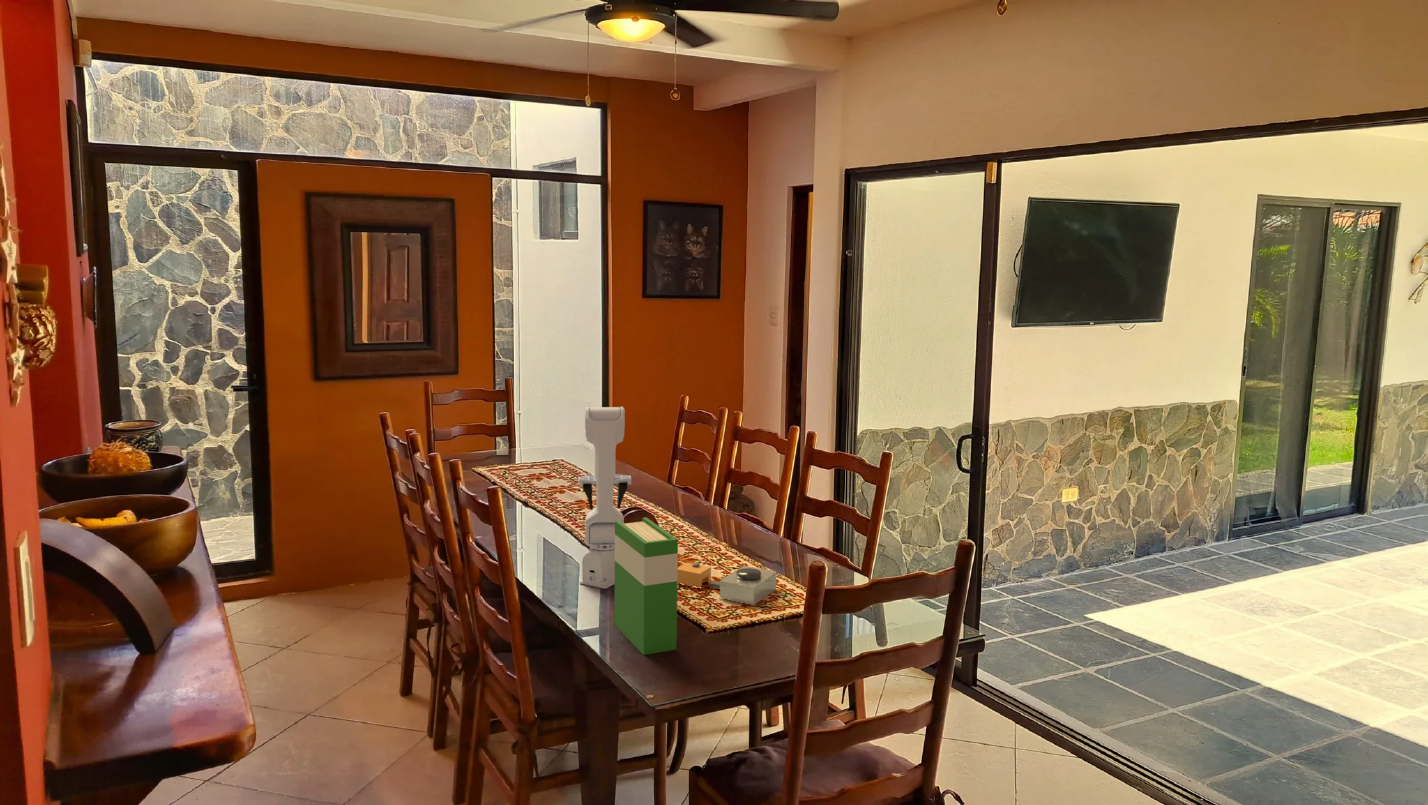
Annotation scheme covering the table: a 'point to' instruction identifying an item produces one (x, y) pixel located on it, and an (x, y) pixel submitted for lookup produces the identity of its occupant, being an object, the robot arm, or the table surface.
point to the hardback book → (646, 585)
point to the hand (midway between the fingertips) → (605, 507)
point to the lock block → (693, 574)
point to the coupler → (746, 585)
